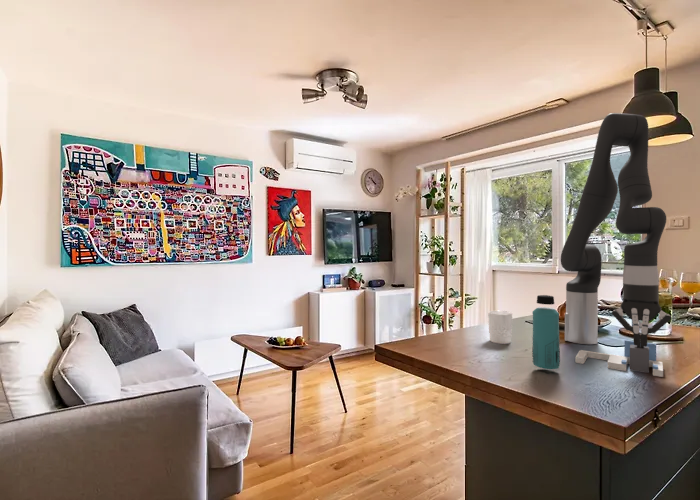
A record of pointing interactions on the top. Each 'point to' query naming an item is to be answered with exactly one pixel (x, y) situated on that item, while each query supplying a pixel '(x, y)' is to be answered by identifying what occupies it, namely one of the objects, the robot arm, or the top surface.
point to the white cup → (500, 326)
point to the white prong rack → (622, 358)
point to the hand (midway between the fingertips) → (640, 347)
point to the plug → (639, 358)
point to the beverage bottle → (545, 335)
